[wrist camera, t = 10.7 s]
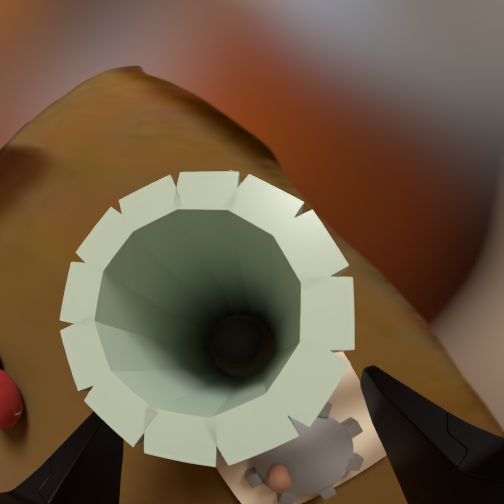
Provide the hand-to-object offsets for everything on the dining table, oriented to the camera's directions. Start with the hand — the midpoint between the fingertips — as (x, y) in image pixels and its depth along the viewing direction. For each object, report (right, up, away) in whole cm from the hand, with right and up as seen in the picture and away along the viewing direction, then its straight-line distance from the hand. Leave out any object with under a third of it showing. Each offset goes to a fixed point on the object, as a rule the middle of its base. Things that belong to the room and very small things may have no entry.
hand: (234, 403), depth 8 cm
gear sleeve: (0, -1, +9) cm, 9 cm away
